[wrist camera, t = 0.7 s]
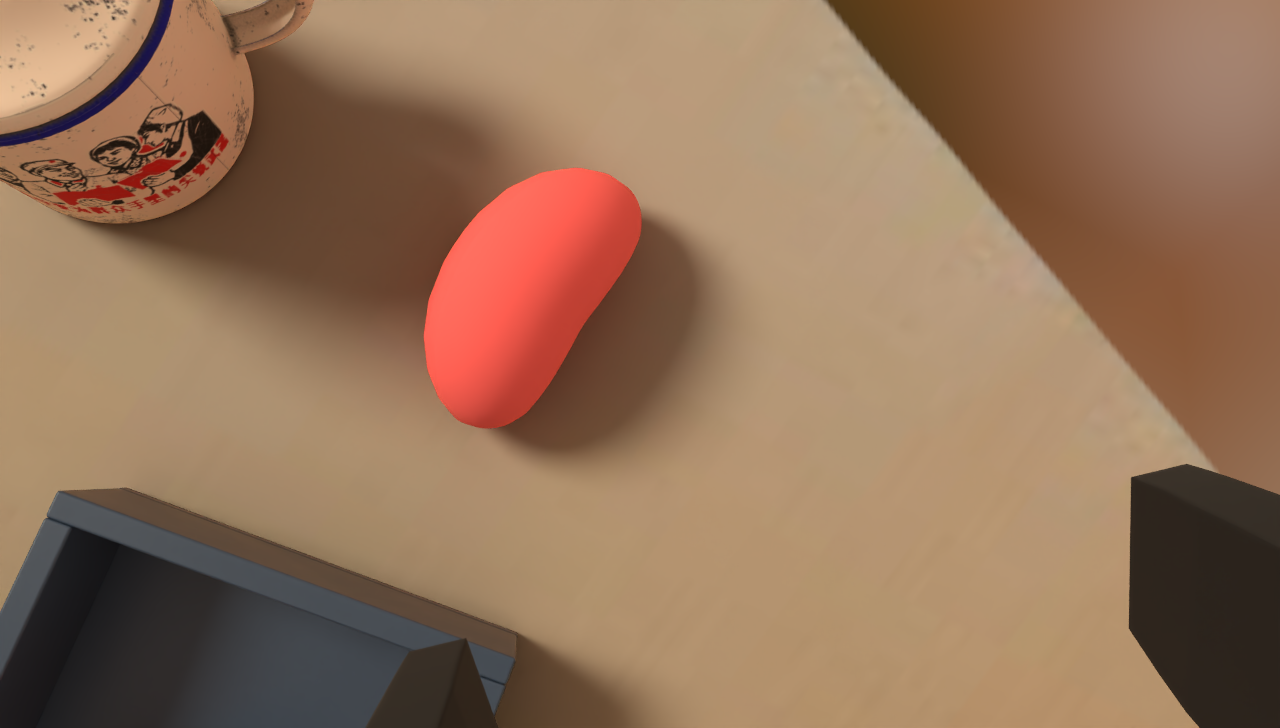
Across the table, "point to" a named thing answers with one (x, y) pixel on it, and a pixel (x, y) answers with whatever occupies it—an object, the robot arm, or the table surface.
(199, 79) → the teacup with lid
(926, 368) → the table surface
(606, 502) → the table surface
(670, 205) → the table surface
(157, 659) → the bin
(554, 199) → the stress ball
